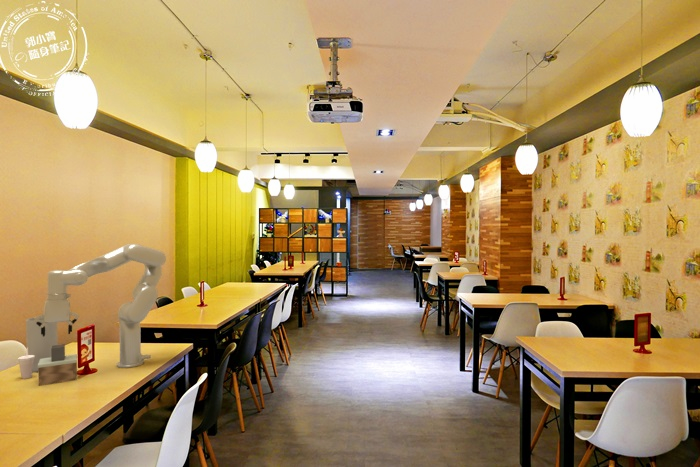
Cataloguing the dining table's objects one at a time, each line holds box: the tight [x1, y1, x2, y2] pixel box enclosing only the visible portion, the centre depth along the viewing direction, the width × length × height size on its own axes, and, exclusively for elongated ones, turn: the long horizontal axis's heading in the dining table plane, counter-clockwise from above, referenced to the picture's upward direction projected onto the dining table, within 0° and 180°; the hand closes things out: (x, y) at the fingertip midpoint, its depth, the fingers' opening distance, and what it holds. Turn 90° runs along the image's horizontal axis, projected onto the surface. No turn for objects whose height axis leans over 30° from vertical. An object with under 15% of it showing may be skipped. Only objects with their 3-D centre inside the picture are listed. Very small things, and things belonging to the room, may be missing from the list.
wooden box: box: [38, 362, 78, 386], centre depth 198 cm, size 14×11×8 cm
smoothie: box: [17, 347, 35, 380], centre depth 201 cm, size 6×6×14 cm
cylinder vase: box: [25, 316, 58, 373], centre depth 214 cm, size 12×12×25 cm
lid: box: [38, 343, 78, 368], centre depth 198 cm, size 14×11×8 cm
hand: (56, 334), depth 197 cm, fingers open, 9 cm apart
